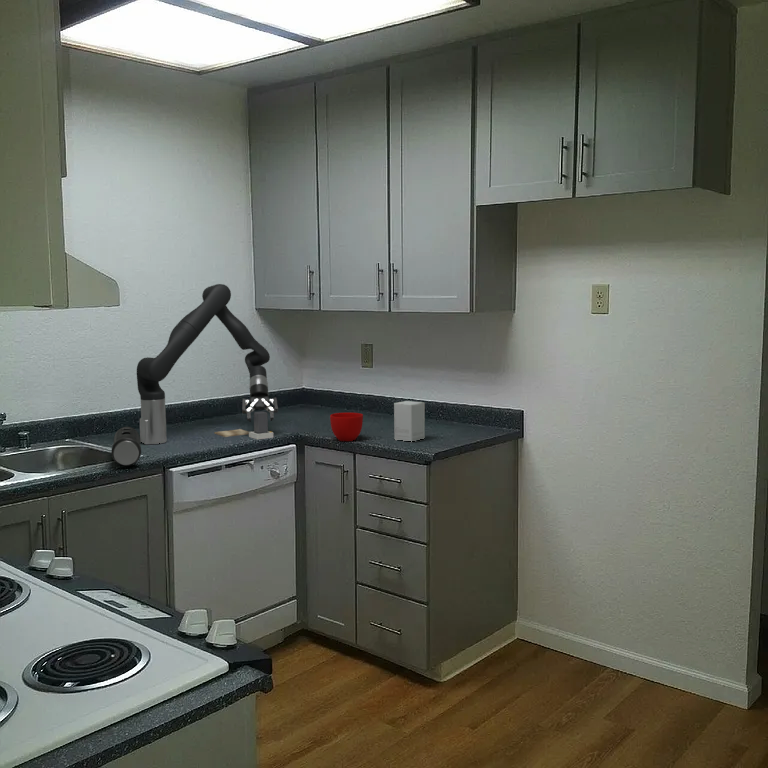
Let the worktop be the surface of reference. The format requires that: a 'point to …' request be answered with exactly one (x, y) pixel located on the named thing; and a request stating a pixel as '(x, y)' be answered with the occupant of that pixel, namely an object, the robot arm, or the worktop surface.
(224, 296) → the robot arm
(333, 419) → the ceramic cup
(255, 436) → the socket dock
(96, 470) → the worktop surface
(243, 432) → the oak board
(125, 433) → the muzzle brake
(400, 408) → the supplement box
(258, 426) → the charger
